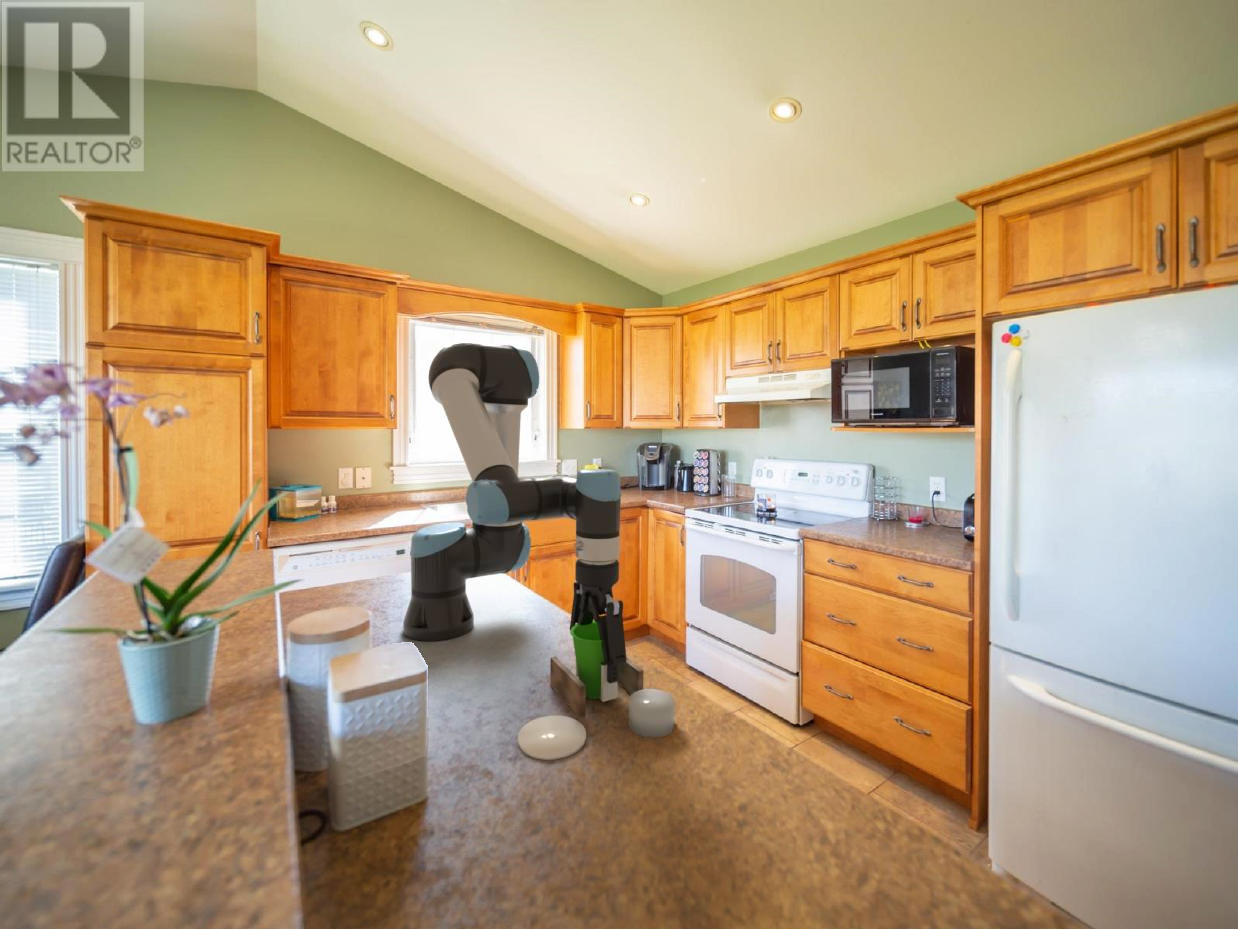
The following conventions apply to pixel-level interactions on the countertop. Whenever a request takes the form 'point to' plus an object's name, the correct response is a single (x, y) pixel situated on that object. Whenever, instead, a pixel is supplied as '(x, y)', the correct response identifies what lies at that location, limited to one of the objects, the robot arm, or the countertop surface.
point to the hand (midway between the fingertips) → (595, 686)
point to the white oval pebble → (552, 737)
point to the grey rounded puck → (651, 713)
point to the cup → (588, 657)
